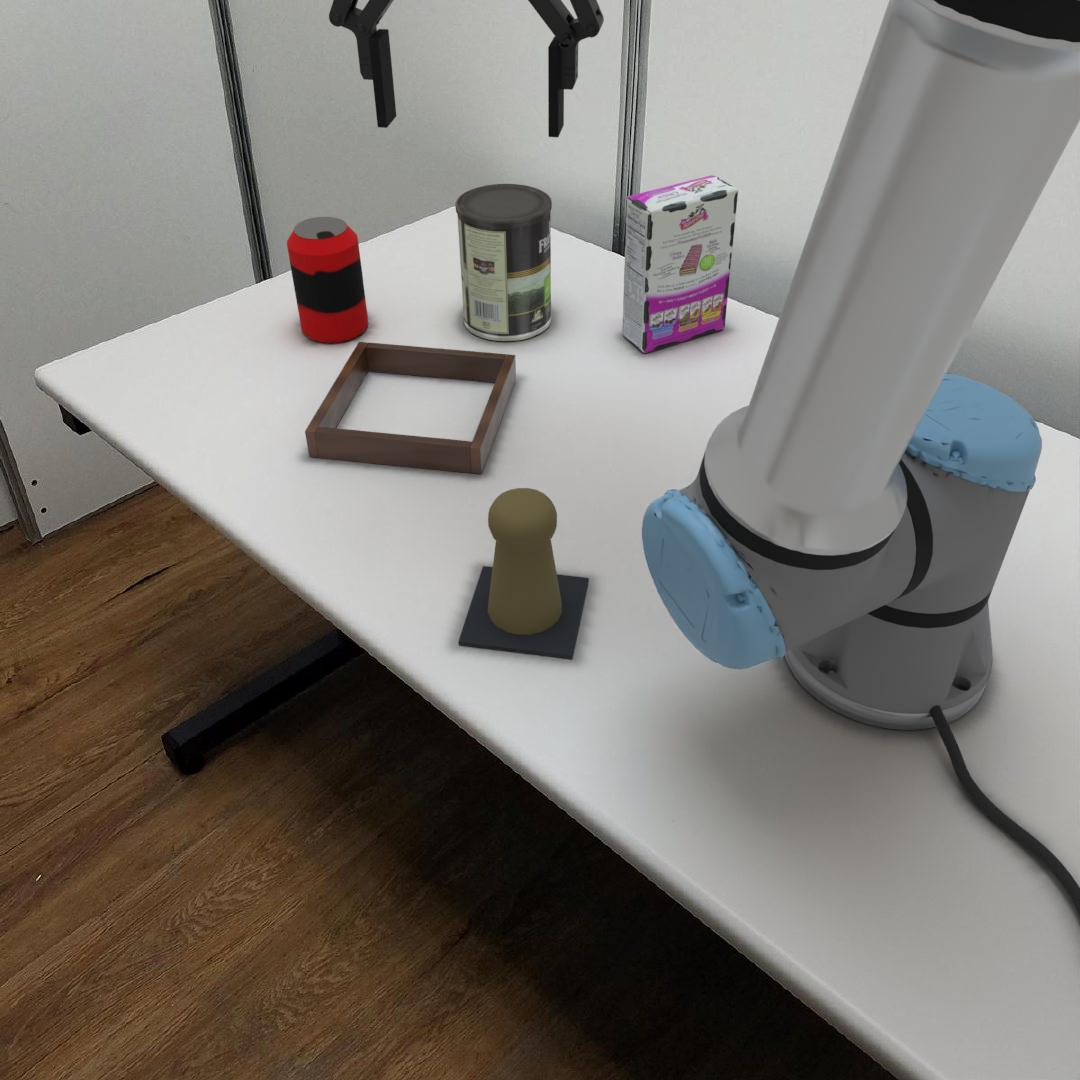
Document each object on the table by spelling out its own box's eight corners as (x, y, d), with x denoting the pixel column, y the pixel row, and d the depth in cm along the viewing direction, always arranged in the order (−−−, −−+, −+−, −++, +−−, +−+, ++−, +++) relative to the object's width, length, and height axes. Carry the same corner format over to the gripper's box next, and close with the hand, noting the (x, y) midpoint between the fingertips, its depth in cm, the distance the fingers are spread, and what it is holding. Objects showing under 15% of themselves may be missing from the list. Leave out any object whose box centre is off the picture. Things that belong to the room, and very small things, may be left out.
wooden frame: (481, 474, 100) (480, 448, 98) (309, 457, 102) (304, 431, 101) (516, 379, 113) (515, 354, 111) (362, 365, 115) (358, 341, 113)
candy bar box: (699, 311, 124) (713, 172, 113) (725, 330, 120) (742, 188, 110) (618, 335, 120) (624, 193, 109) (642, 355, 116) (651, 211, 106)
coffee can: (552, 298, 127) (552, 182, 117) (551, 342, 119) (551, 221, 110) (465, 298, 127) (458, 182, 118) (459, 342, 119) (451, 221, 110)
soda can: (311, 350, 118) (294, 248, 110) (294, 319, 123) (277, 220, 115) (377, 335, 120) (365, 234, 112) (357, 306, 125) (344, 208, 118)
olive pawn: (525, 572, 89) (523, 466, 82) (577, 608, 86) (580, 500, 79) (471, 608, 86) (464, 501, 79) (523, 646, 83) (520, 538, 75)
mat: (572, 659, 82) (572, 655, 82) (458, 645, 83) (458, 641, 83) (588, 581, 89) (588, 577, 88) (483, 569, 90) (482, 565, 90)
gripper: (650, -206, 71) (634, 118, 85) (293, -210, 74) (333, 102, 88) (638, -192, 65) (623, 153, 79) (253, -197, 69) (303, 134, 83)
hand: (470, 126), depth 84 cm, fingers open, 13 cm apart
